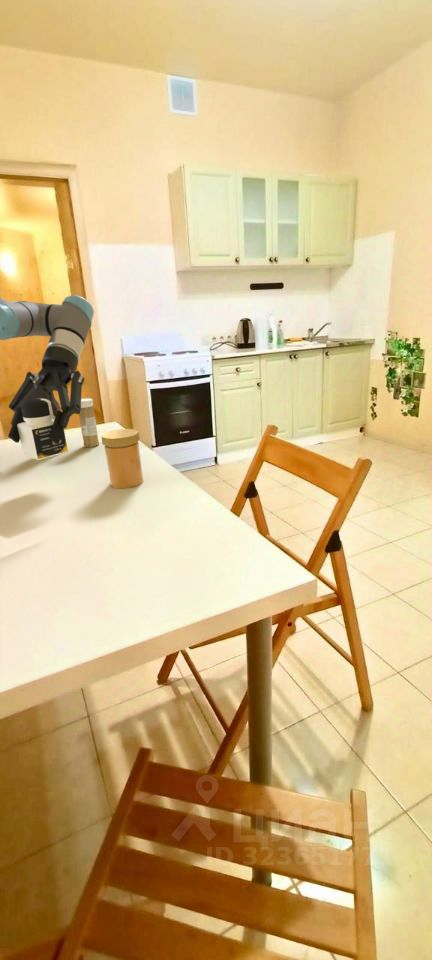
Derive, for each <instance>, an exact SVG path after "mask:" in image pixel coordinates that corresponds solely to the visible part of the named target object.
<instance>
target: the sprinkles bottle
mask: <svg viewBox="0 0 432 960" xmlns="http://www.w3.org/2000/svg"><path fill="white" fill-rule="evenodd" d="M78 417H79V423H80V430H81V436H82V440H83V446H84V447H86V448H92V447H96V445H97V446H98V445H100V441H99V435H98V426H97V419H96V414H95V409H94V401H93V398H81V412H80V413H79V414H78Z"/></svg>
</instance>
